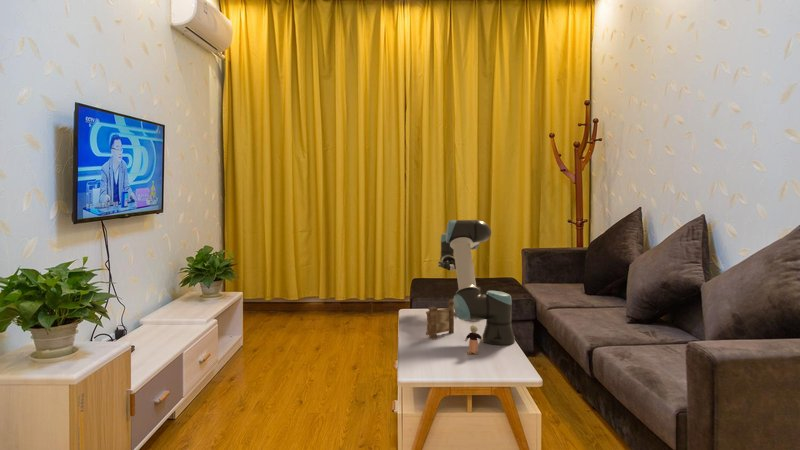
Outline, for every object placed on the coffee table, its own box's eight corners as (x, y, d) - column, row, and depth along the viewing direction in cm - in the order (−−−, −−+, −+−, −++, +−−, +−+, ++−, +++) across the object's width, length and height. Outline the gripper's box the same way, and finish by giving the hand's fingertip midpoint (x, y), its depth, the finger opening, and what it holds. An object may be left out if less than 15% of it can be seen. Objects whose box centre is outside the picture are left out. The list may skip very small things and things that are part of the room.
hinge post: (455, 333, 259) (455, 299, 258) (450, 334, 258) (450, 300, 256) (451, 331, 262) (452, 298, 260) (446, 332, 260) (447, 299, 259)
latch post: (437, 338, 250) (437, 307, 249) (432, 339, 248) (432, 308, 247) (433, 337, 252) (433, 306, 251) (428, 338, 250) (428, 307, 249)
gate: (447, 330, 259) (447, 307, 259) (449, 330, 258) (450, 308, 257) (426, 334, 252) (426, 311, 251) (428, 335, 250) (428, 312, 249)
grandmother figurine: (465, 354, 225) (465, 326, 224) (464, 352, 229) (464, 323, 228) (483, 354, 225) (483, 326, 224) (481, 352, 229) (482, 323, 228)
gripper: (460, 268, 297) (465, 275, 273) (436, 268, 297) (439, 275, 274) (460, 255, 297) (465, 261, 273) (436, 255, 297) (440, 261, 273)
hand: (452, 268), depth 273 cm, fingers closed
